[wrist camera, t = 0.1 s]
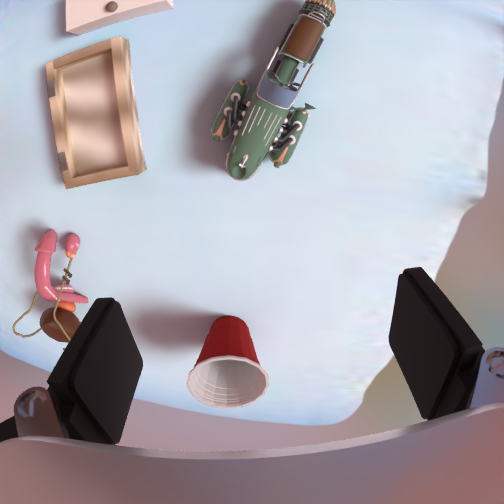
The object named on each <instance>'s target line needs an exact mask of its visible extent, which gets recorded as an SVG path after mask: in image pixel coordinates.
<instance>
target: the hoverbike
mask: <svg viewBox="0 0 504 504" xmlns="http://www.w3.org/2000/svg"><path fill="white" fill-rule="evenodd" d="M335 14H336V8H335V3H334V0H306V1H305V4H304V6H303V7H302V9H301V10H300V11H299V17H298V19H297V21H296V22H295V24H291V25H290V27H289V29H288V31H287V33H286V35H285V36H284V38H283V40H282V42H281V44H280V46H279V47H278V46H277V48H276V50H275V52H274V54H273V55H272V57H271V59H270V61H269V63H268V65H267V67H266V69H265V71H264V73H263V75H262V77H261V79H260V81H259V83H258V85H257V87H256V89H255V91H254V93H253V96H252V98H251V100H250V101H244V100H245V97H246V95H247V93H248V90H249V88H250V87H249V84H248V83H247V82H246V81H245V80H237V81H235V83H234V84H233V86H232V88H231V90H230V92H229V94H228V95H227V97H226V99H225V101H224V103H223V105H222V107H221V108H220V110H219V112H218V114H217V116H216V118H215V121H214V124H213V126H212V128H211V133H212V135H213V136H214V138H213V140H215V141H218V142H219V141H220V139H221V140H222V139H227V138H228V137H229V135H230V133H232V134H233V135H234V136H235V138H234V140H233V142H232V145H231V148H230V149H229V152H228V154H227V155H226V159H225V166H226V171H227V173H228V174H229V175H230V176H231V177H232V178H233V179H235V180H240V181H244V180H247V179H249V178H251V177H252V176H253V175H254V174H255V173H256V172H257V170H258V169H259V168H260V164H261V162H262V161H263V159H264V157H265V155H266V153H267V152H268V151H271V152H270V154H269V158H270V160H271V161H272V162H273V163H274V166H275V167H276V168H279V166H280V165H284V164H286V163H287V162H288V161H289V159H290V157H291V155H292V154H293V152H294V150H295V148H296V145H297V143H298V141H299V138H300V136H301V134H302V132H303V129H304V127H305V125H306V122H307V120H308V118H309V113H308V111H307V109H316V108H315V107H313V106H311V105H309V104H306V103H305V106H306V107H305V108H302V107H298V108H294V107H292V105H293V103H294V101H295V100H296V98H297V96H298V94H299V92H300V90H301V88H302V87H303V85H304V83H305V81H306V79H307V77H308V75H309V73H310V71H311V69H312V67H313V66H314V64H312V65H311V66H310V68H309V69H308V71H307V73H306V75H305V77H304V79H303V81H302V83H301V85H300V84H298V83H292V82H293V81H294V79H295V77H296V75H297V73H298V71H299V70H298V69H297V66H298V64H299V62H301V63H303V64H304V66H303V68H304V67H306V64H307V63H310V64H311V63H312V61H313V59H314V57H315V55H316V53H317V52H318V50H319V48H320V46H321V44H322V42H323V38H321V36H322V34H323V32H324V30H325V29H326V28H327V27H328V26H330V22H331V20H332V18H333V17H334V16H335ZM278 49H280V52H279V54H278V56H279V55H280V54H283V55H285V56H284V58H283V60H282V61H280V60H278V61H277V63H276V65H275V66H274V68H273V70H272V71H270V72H269V73H271V74H272V75H273V76H274V77H272V76H269V75H268V77H267V72H268V69H269V67H270V65H271V63H272V61H273V59H274V57H275V55H276V53H277V51H278ZM272 78H273V79H272ZM289 82H290V83H289ZM288 84H290V86H288ZM292 84H293V85H296V86H299V85H300V86H299V88H298V90H297V88H295V87H294V86H292ZM242 105H243V106H244V107H245V108H247V109H245V108H241V107H242ZM290 110H294V112H293V113H292V114H291V115H290V119H289V120H288V119H287V115H288V113H289V111H290ZM238 114H241V115H242V116H243V119H242V120H240V121H239V120H238V119H237V116H238ZM234 123H236V124H237V125H238V126H239V128H238V130H234V129H233V126H234ZM282 124H283V125H286V126H285V127H284V126H282ZM278 131H279V132H278ZM277 133H282V134H281V136H280V137H279V138H278V137H277ZM272 142H277V143H276V144H275V146H274V147H273V146H272Z"/></svg>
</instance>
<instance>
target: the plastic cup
mask: <svg viewBox="0 0 504 504" xmlns="http://www.w3.org/2000/svg"><path fill="white" fill-rule="evenodd" d="M268 386H269V380H268V374H267V373H266V372H265V371H264V369H263V368H262V367H261V366H260V364H259V361H258V359H257V356H256V352H255V349H254V345H253V342H252V339H251V337H250V332H249V328H248V327H247V325H246V323H245V322H244V321H243V320H241V319H240V318H238V317H234V316H224V317H221V318H219V319H217V320H216V321H215V323H214V324H213V325H212V327H211V329H210V332H209V334H208V335H207V338H206V340H205V343H204V345H203V348H202V350H201V353H200V355H199V358H198V359H197V362H196V364H195V366H194V368H193V369H192V370H191V371H190V373H189V375H188V380H187V387H188V389H189V392H190V394H191V395H192V396H194V397H195V398H196V399H197V400H198V401H199V402H202V403H204V404H207V405H209V406H212V407H219V408H236V407H243V406H245V405H248V404H251V403H253V402H255V401H257V400H258V399H259V398H260V397H262V396H263V395H264V394H265V392H266V390H267V388H268Z"/></svg>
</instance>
